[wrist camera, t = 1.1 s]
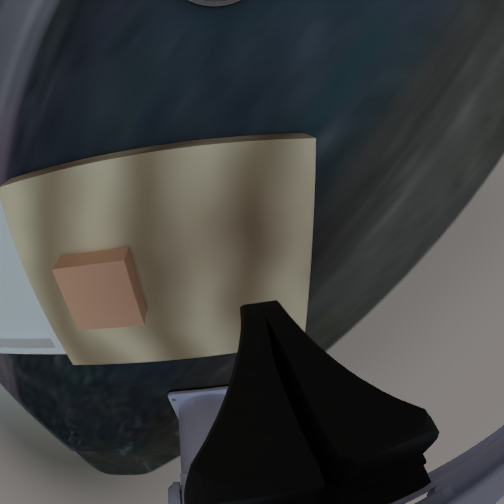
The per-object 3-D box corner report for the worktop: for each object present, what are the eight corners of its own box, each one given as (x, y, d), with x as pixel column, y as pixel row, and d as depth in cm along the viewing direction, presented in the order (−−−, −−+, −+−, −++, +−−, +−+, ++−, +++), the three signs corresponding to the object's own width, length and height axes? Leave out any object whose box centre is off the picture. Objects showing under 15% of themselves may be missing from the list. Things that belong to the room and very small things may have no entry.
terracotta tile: (129, 246, 18) (124, 260, 17) (146, 309, 20) (144, 325, 19) (60, 256, 17) (51, 269, 16) (83, 315, 20) (78, 329, 18)
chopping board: (304, 133, 18) (315, 138, 17) (297, 325, 26) (303, 341, 25) (11, 178, 16) (-3, 187, 14) (78, 348, 24) (73, 364, 22)
